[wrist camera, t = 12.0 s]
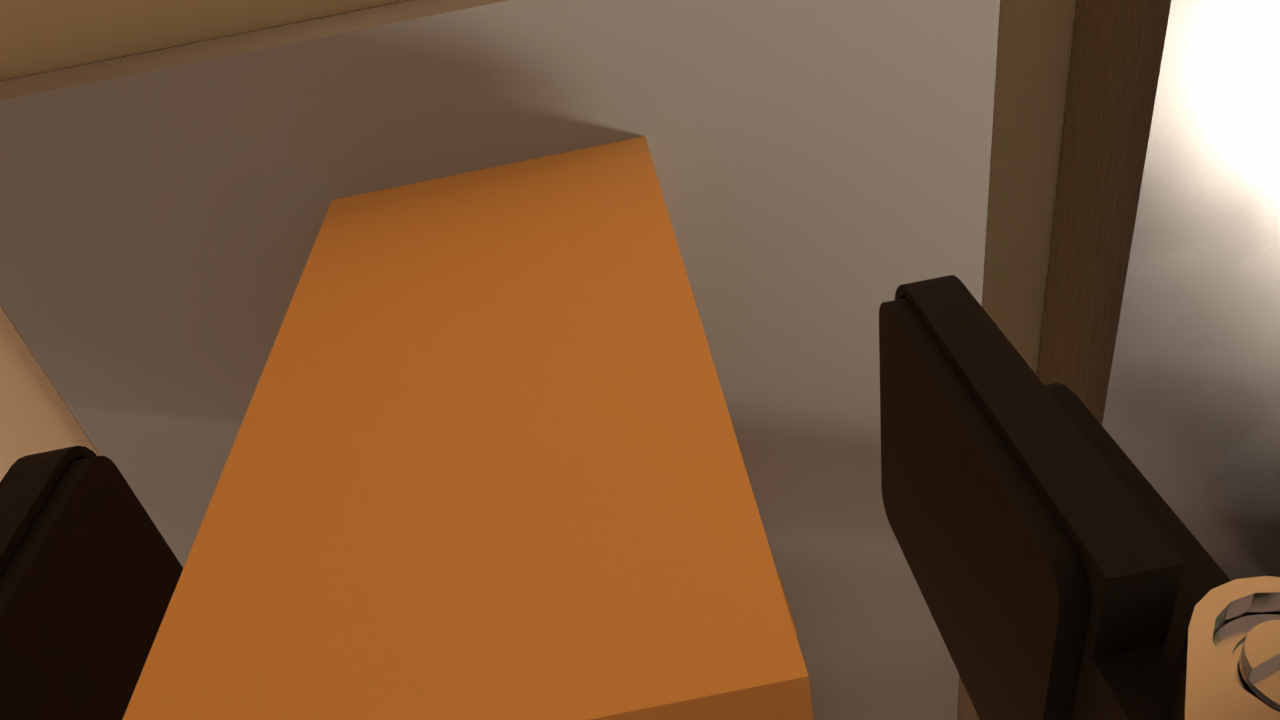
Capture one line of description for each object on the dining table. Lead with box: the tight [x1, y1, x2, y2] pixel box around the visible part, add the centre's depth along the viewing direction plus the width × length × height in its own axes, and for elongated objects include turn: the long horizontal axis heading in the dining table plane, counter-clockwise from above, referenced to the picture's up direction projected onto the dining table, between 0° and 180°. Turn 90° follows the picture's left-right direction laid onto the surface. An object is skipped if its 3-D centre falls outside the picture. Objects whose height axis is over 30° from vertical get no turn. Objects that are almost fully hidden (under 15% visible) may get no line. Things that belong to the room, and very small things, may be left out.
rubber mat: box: [0, 0, 1000, 720], centre depth 17 cm, size 20×13×1 cm, turn 10°
